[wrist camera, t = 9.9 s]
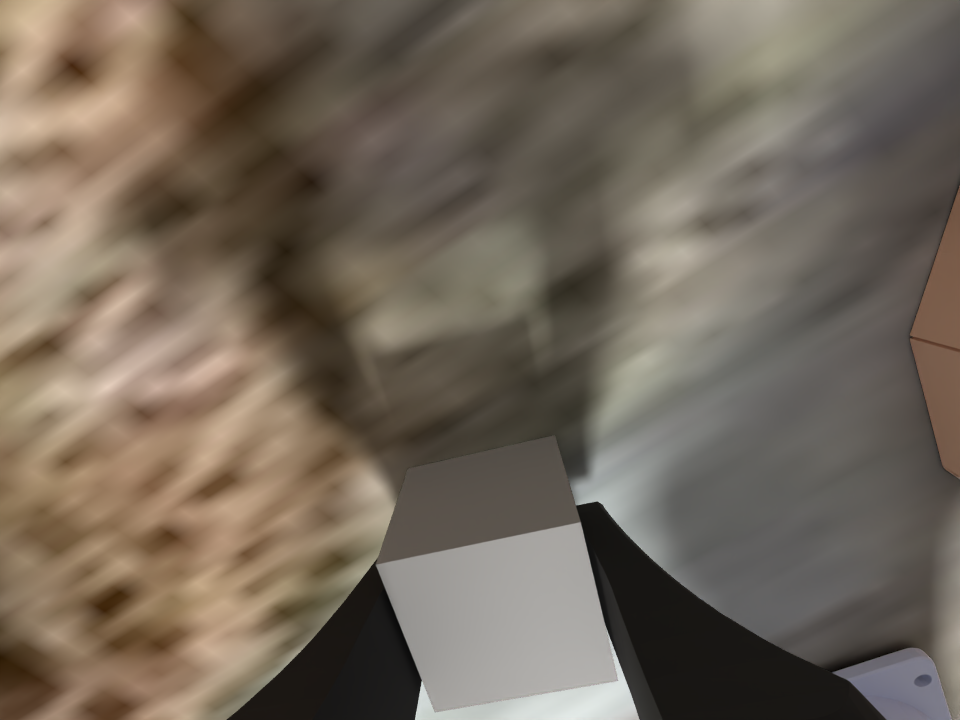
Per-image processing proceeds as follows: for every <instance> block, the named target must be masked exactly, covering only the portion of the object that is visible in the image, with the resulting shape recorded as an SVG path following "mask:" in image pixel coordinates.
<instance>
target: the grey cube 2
mask: <svg viewBox="0 0 960 720" xmlns="http://www.w3.org/2000/svg"><path fill="white" fill-rule="evenodd" d="M376 567H377V569H378V572H379V574H380V577H381V579H382V582H383V584H384V587H385V589H386V592H387V594H388V597H389V599H390V602H391V604H392V607H393V609H394V612H395V614H396V617H397V619H398V622H399V624H400V627H401V629H402V632H403V634H404V637H405V639H406V642H407V644H408V647H409V649H410V652H411V654H412V657H413V659H414V662H415V664H416V667H417V669H418V672H419V674H420V677H421V679H422V682H423V684H424V686H425V689H426V691H427V694H428V696H429V699H430V701H431V704H432V706H433V709H434V711H435V712H440V711H446V710H451V709H457V708H463V707H469V706H475V705H481V704H486V703H492V702H498V701H504V700H510V699H515V698H521V697H527V696H533V695H539V694H545V693H550V692H556V691H562V690H568V689H574V688H580V687H585V686H591V685H597V684H603V683H609V682H614V681H618V677H617V673H616V669H615V665H614V660H613V656H612V652H611V648H610V644H609V639H608V635H607V631H606V627H605V623H604V618H603V614H602V610H601V606H600V601H599V597H598V593H597V589H596V585H595V580H594V576H593V572H592V568H591V564H590V559H589V555H588V551H587V547H586V542H585V538H584V534H583V530H582V526H581V522H580V518H579V515H578V511H577V508H576V505H575V501H574V498H573V495H572V491H571V488H570V484H569V481H568V478H567V474H566V471H565V467H564V464H563V461H562V457H561V454H560V451H559V447H558V444H557V440H556V437H555V435H553V436H549V437H544V438H540V439H535V440H531V441H527V442H522V443H518V444H513V445H509V446H505V447H500V448H496V449H491V450H487V451H483V452H478V453H474V454H469V455H465V456H461V457H456V458H452V459H447V460H443V461H439V462H434V463H430V464H425V465H421V466H417V467H412V468H408V470H407V473H406V476H405V479H404V482H403V485H402V488H401V491H400V494H399V497H398V500H397V503H396V506H395V509H394V512H393V515H392V518H391V521H390V524H389V527H388V530H387V533H386V536H385V539H384V542H383V544H382V547H381V550H380V553H379V556H378V559H377V562H376Z"/></svg>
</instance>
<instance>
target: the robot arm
mask: <svg viewBox="0 0 960 720" xmlns="http://www.w3.org/2000/svg"><path fill="white" fill-rule="evenodd" d="M576 508H577V511H578V515H579V518H580V522H581V526H582V530H583V534H584V538H585V542H586V547H587V551H588V555H589V559H590V564H591V568H592V572H593V576H594V580H595V585H596V589H597V593H598V597H599V601H600V606H601V610H602V614H603V618H604V622H605V625H606V628H607V630H608V633H609V636H610V639H611V641H612V644H613V647H614V649H615V652H616V655H617V657H618V660H619V663H620V665H621V668H622V671H623V673H624V676H625V679H626V681H627V684H628V687H629V689H630V692H631V695H632V698H633V701H634V704H635V707H636V710H637V713H638V716H639V719H640V720H952V718H951V715H950V712H949V708H948V705H947V702H946V699H945V695H944V692H943V689H942V686H941V682H940V679H939V676H938V672H937V669H936V666H935V663H934V661H933V660H932V659H931V658H930V657H929V656H928V655H927V654H926V653H925V652H924V651H923V650H921V649H919V648H906V649H903V650H899V651H896V652H893V653H890V654H887V655H884V656H881V657H878V658H875V659H872V660H869V661H866V662H862V663H859V664H856V665H853V666H850V667H847V668H844V669H841V670H838V671H835V672H832V673H831V672H829V671H827V670H825V669H823V668H820V667H818V666H816V665H814V664H812V663H810V662H807V661H805V660H803V659H801V658H799V657H797V656H795V655H793V654H791V653H789V652H787V651H785V650H783V649H781V648H779V647H777V646H775V645H774V644H772V643H770V642H768V641H766V640H764V639H762V638H761V637H759V636H757V635H756V634H754V633H752V632H751V631H749V630H747V629H746V628H744V627H743V626H741V625H739V624H738V623H736V622H734V621H733V620H731V619H730V618H728V617H726V616H725V615H723V614H721V613H720V612H718V611H717V610H716V609H714V608H713V607H711V606H710V605H708V604H707V603H706V602H704V601H703V600H701V599H700V598H698V597H697V596H696V595H694V594H693V593H692V592H690V591H689V590H688V589H686V588H685V587H684V586H683V585H681V584H680V583H679V582H678V581H676V580H675V579H674V578H673V577H671V576H670V575H669V574H668V573H667V572H666V571H664V570H663V569H662V568H661V567H660V566H659V565H658V564H656V563H655V562H654V561H653V560H652V559H651V558H650V557H649V556H648V555H647V554H646V553H645V552H644V551H643V550H642V549H641V548H640V547H639V546H638V545H637V544H636V543H635V542H634V541H633V540H631V539H630V537H629V536H628V535H627V534H626V533H625V532H624V531H623V530H622V529H621V528H620V527H619V525H618V524H617V523H616V522H615V521H614V520H613V518H612V517H611V516H610V515H609V513H608V512H607V511H606V509H605V508H604V506H603V505H602V504H601V503H599V502H592V503H587V504H582V505H577V506H576ZM377 559H378V558H377ZM376 562H377V560H376V561H375V562H374V564H373V565H372V566H371V568H370V569H369V570H368V571H367V573H366V574H365V575H364V577H363V578H362V579H361V581H360V582H359V583H358V585H357V586H356V587H355V588H354V590H353V591H352V592H351V594H350V595H349V596H348V597H347V599H346V600H345V601H344V603H343V604H342V605H341V606H340V607H339V608H338V610H337V611H336V612H335V613H334V614H333V616H332V617H331V618H330V619H329V620H328V622H327V623H326V624H325V625H324V626H323V627H322V629H321V630H320V631H319V632H318V633H317V634H316V636H315V637H314V638H313V639H312V640H311V641H310V642H309V643H308V644H307V645H306V646H305V648H304V649H303V650H302V651H301V652H300V653H299V654H298V655H297V656H296V657H295V658H294V659H293V660H292V661H291V662H290V663H289V664H288V665H287V666H286V667H285V668H284V669H283V670H282V671H281V672H280V673H279V674H278V675H277V676H276V677H275V678H273V679H272V680H271V681H270V682H269V683H268V684H267V685H266V686H265V687H264V688H262V689H261V690H260V691H259V692H258V693H257V694H256V695H255V696H254V697H253V698H251V699H250V700H249V701H248V702H247V703H246V704H245V705H244V706H243V707H241V708H240V709H239V710H238V711H237V712H235V713H234V714H233V715H232V716H231V717H229V718H228V719H227V720H415V715H416V710H417V704H418V698H419V693H420V687H421V682H422V679H421V677H420V674H419V672H418V669H417V667H416V664H415V662H414V659H413V657H412V654H411V652H410V649H409V647H408V644H407V642H406V639H405V637H404V634H403V632H402V629H401V627H400V624H399V622H398V619H397V617H396V614H395V612H394V609H393V607H392V604H391V602H390V599H389V597H388V594H387V592H386V589H385V587H384V584H383V582H382V579H381V577H380V574H379V572H378V569H377V567H376Z"/></svg>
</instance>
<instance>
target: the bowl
mask: <svg viewBox="0 0 960 720" xmlns="http://www.w3.org/2000/svg"><path fill="white" fill-rule="evenodd" d="M910 336H913V337H912V338H910V342H911V346H912V350H913V354H914V358H915V361H916V365H917V369H918V373H919V377H920V381H921V385H922V388H923V392H924V396H925V400H926V404H927V408H928V412H929V415H930V419H931V423H932V427H933V431H934V435H935V439H936V442H937V446H938V450H939V454H940V458H941V462H942V466H943V467H944V469H945V470H947V471H948V472H950V473H951V474H952V475H954V476H955V477H957V478H958V479H960V186H959V189H958V192H957V195H956V198H955V201H954V204H953V207H952V210H951V213H950V216H949V219H948V222H947V225H946V228H945V231H944V234H943V237H942V240H941V243H940V246H939V249H938V252H937V255H936V258H935V261H934V264H933V267H932V270H931V273H930V276H929V279H928V282H927V285H926V288H925V291H924V294H923V297H922V300H921V303H920V306H919V309H918V312H917V315H916V318H915V321H914V324H913V327H912V330H911V333H910Z"/></svg>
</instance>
